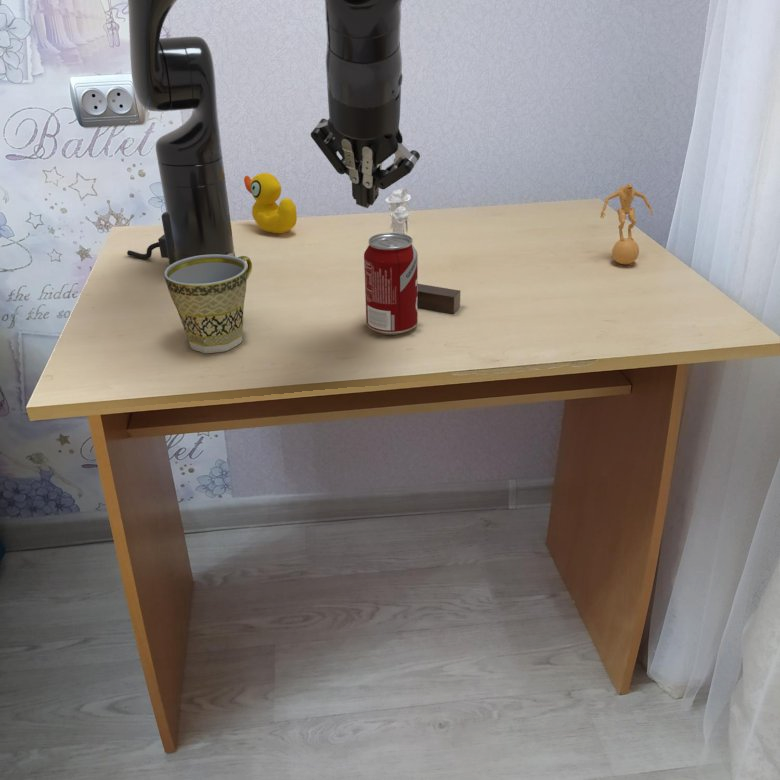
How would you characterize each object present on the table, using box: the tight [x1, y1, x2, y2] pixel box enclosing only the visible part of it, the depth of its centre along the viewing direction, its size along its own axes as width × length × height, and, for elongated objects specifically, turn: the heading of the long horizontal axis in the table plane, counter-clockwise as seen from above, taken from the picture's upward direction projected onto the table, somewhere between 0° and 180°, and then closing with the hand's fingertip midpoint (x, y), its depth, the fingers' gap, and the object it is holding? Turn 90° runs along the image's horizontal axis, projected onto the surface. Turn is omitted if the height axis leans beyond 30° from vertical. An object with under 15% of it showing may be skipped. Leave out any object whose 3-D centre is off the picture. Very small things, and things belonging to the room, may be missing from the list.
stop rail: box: [418, 283, 461, 315], centre depth 108 cm, size 12×2×2 cm, turn 65°
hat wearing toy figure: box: [385, 187, 412, 235], centre depth 121 cm, size 9×4×12 cm, turn 4°
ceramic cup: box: [163, 254, 253, 354], centre depth 98 cm, size 13×10×10 cm
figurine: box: [600, 183, 654, 266], centre depth 118 cm, size 8×6×12 cm
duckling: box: [243, 172, 298, 234], centre depth 133 cm, size 11×5×10 cm, turn 51°
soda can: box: [363, 232, 419, 336], centre depth 99 cm, size 7×7×12 cm
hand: (365, 201), depth 93 cm, fingers closed
